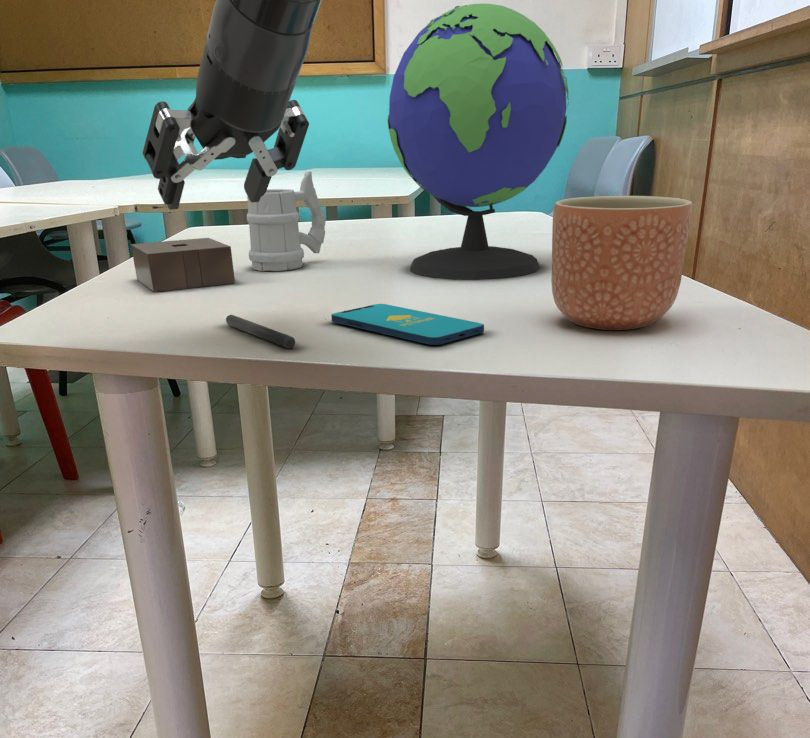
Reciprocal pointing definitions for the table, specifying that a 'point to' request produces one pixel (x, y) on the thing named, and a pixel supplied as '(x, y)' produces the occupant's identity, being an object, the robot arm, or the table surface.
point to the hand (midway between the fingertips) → (210, 198)
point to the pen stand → (183, 264)
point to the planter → (618, 258)
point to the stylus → (261, 331)
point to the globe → (477, 125)
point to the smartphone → (408, 323)
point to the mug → (283, 227)
